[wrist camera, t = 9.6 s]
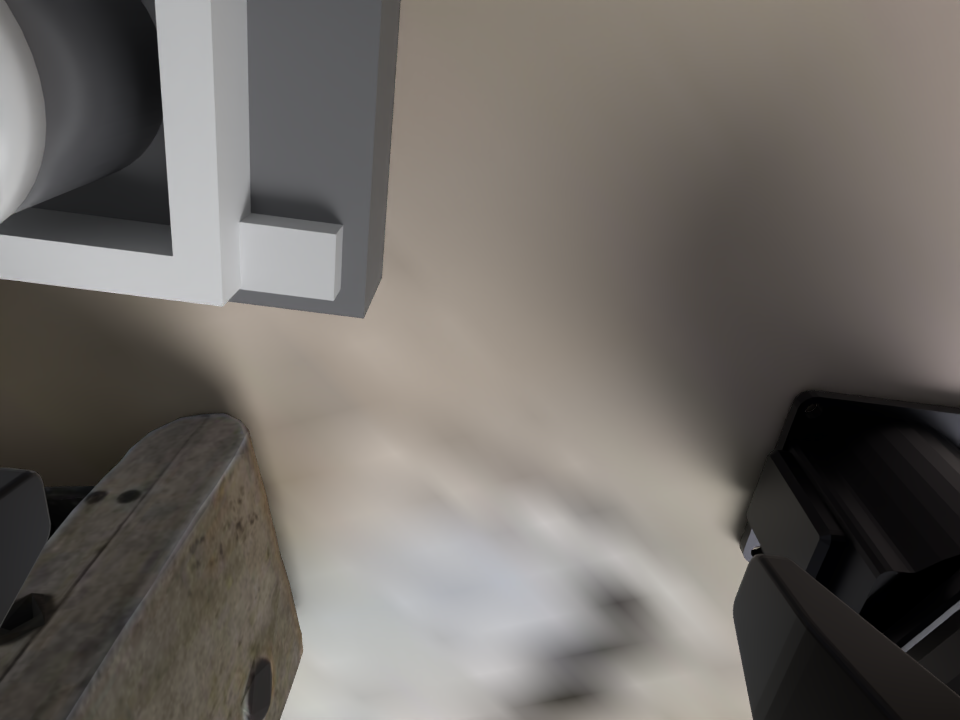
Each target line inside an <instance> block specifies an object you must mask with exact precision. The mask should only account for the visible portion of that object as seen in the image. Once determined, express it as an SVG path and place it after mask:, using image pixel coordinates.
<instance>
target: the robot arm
mask: <svg viewBox="0 0 960 720" xmlns="http://www.w3.org/2000/svg"><path fill="white" fill-rule="evenodd" d="M812 404H817V406H816V407H815V409H814V410H812V411H809V412H805V410H806V409H807V407H808V406H810V405H812ZM746 517H747V520H748V522H747V525H746V528H745V530H744V533H743V536H742V538H741V541H740V549H741V551H742V553H743V555H744V558H745V559H746V560H747V561H748V562H749V564H748V566H747V569H746V572H745V574H744V577H743V579H742V582H741V584H740V587H739V590H738V592H737V595H736V597H735V601H734V606H733V618H734V624H735V629H736V635H737V640H738V645H739V650H740V655H741V660H742V665H743V671H744V676H745V681H746V686H747V691H748V696H749V701H750V707H751V712H752V717H753V720H960V408H952V407H944V406H936V405H928V404H920V403H912V402H903V401H895V400H887V399H879V398H871V397H863V396H855V395H847V394H839V393H831V392H823V391H815V390H811V391H805V392H803V393H801V394H799V395H798V396H797V397H796V398H795V399H794V401H793V403H792V405H791V408H790V411H789V413H788V416H787V419H786V421H785V424H784V427H783V429H782V432H781V435H780V437H779V440H778V443H777V445H776V448H775V450H774V451H773V452H771V453H770V454H769V455H768V457H767V460H766V462H765V465H764V468H763V470H762V473H761V476H760V478H759V481H758V484H757V486H756V489H755V492H754V495H753V497H752V500H751V503H750V505H749V508H748V511H747V513H746ZM50 527H51V523H50V516H49V511H48V506H47V500H46V495H45V489H44V484H43V480H42V478H41V476H40V475H39V474H38V473H37V472H35V471H33V470H26V469H17V468H0V627H1V625H2V623H3V621H4V619H5V618H6V616H7V614H8V612H9V610H10V608H11V607H12V605H13V603H14V601H15V599H16V598H17V596H18V594H19V592H20V590H21V588H22V587H23V585H24V583H25V581H26V579H27V578H28V576H29V574H30V572H31V570H32V568H33V567H34V565H35V563H36V561H37V559H38V558H39V556H40V554H41V552H42V550H43V549H44V547H45V545H46V543H47V540H48V538H49V534H50ZM756 546H761V547H760V548H758V549H754V550H752V549H753V548H754V547H756Z"/></svg>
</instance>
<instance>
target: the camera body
mask: <svg viewBox="0 0 960 720" xmlns="http://www.w3.org/2000/svg"><path fill="white" fill-rule="evenodd" d="M141 1H142V3H143V4H144V6H145V8H146V9H147V11H148V13H149V15H150V17H151V19H152V21H153V23H154V25H155V27H156V30H157V39H158V53H159V67H160V81H161V95H162V109H163V120H162V123H161V125H160V128H159V130H158V132H157V134H156V136H155V138H154V139H153V141H152V143H151V144H150V146H149V147H148V148H147V149H146V150H145V152H144V153H143V154H142V155H141V156H140V157H139V158H138V159H136V160H135V161H134V162H133V163H131V164H130V165H128V166H127V167H125V168H123V169H121V170H120V171H118V172H115V173H113V174H110V175H108V176H105V177H103V178H100V179H98V180H95V181H93V182H91V183H88V184H86V185H83V186H81V187H78V188H76V189H73V190H71V191H68V192H66V193H64V194H61V195H59V196H56V197H54V198H51V199H49V200H46V201H44V202H41V203H39V204H36V205H34V206H32V207H29V208H27V209H24V210H22V211H19V212H17V213H14V214H12V215H10V216H9V217H8V218H7V219H5V220H4V221H3V222H2V223H1V224H0V279H6V280H14V281H22V282H30V283H38V284H46V285H54V286H62V287H70V288H78V289H86V290H94V291H102V292H110V293H118V294H126V295H134V296H142V297H150V298H158V299H166V300H174V301H182V302H190V303H198V304H206V305H214V306H222V307H223V306H224V305H225V304H226V303H227V302H228V301H229V302H237V303H245V304H253V305H261V306H269V307H277V308H285V309H293V310H301V311H309V312H317V313H325V314H333V315H341V316H349V317H357V318H364V317H365V314H366V312H367V310H368V308H369V305H370V303H371V301H372V299H373V296H374V294H375V292H376V290H377V287H378V285H379V283H380V281H381V278H382V266H383V251H384V237H385V222H386V207H387V192H388V178H389V163H390V148H391V133H392V119H393V104H394V89H395V74H396V60H397V45H398V30H399V15H400V1H401V0H141Z"/></svg>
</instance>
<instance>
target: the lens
mask: <svg viewBox="0 0 960 720" xmlns="http://www.w3.org/2000/svg"><path fill="white" fill-rule="evenodd" d="M162 120H163V109H162V95H161V81H160V67H159V53H158V39H157V30H156V27H155V25H154V23H153V21H152V19H151V17H150V15H149V13H148V11H147V9H146V8H145V6H144V4H143V3H142V1H141V0H0V224H1V223H2V222H3V221H4V220H5V219H7V218H8V217H9V216H10V215H12V214H14V213H17V212H19V211H22V210H24V209H27V208H29V207H32V206H34V205H36V204H39V203H41V202H44V201H46V200H49V199H51V198H54V197H56V196H59V195H61V194H64V193H66V192H68V191H71V190H73V189H76V188H78V187H81V186H83V185H86V184H88V183H91V182H93V181H95V180H98V179H100V178H103V177H105V176H108V175H110V174H113V173H115V172H118V171H120V170H121V169H123V168H125V167H127V166H128V165H130V164H131V163H133V162H134V161H135V160H136V159H138V158H139V157H140V156H141V155H142V154H143V153H144V152H145V150H146V149H147V148H148V147H149V146H150V144H151V143H152V141H153V139H154V138H155V136H156V134H157V132H158V130H159V128H160V125H161V123H162Z"/></svg>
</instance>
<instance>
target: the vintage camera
mask: <svg viewBox="0 0 960 720" xmlns="http://www.w3.org/2000/svg"><path fill="white" fill-rule="evenodd" d="M44 489H45V495H46V500H47V506H48V511H49V516H50V523H51V527H50V534H49V538H48V540H47V543H46V545H45V547H44V549H43V550H42V552H41V554H40V556H39V558H38V559H37V561H36V563H35V565H34V567H33V568H32V570H31V572H30V574H29V576H28V578H27V579H26V581H25V583H24V585H23V587H22V588H21V590H20V592H19V594H18V596H17V598H16V599H15V601H14V603H13V605H12V607H11V608H10V610H9V612H8V614H7V616H6V618H5V619H4V621H3V623H2V625H1V627H0V720H280V718H281V715H282V712H283V709H284V707H285V704H286V701H287V698H288V695H289V692H290V689H291V686H292V684H293V681H294V678H295V675H296V672H297V669H298V666H299V663H300V659H301V656H302V653H303V645H302V633H301V630H300V626H299V622H298V618H297V613H296V609H295V605H294V600H293V596H292V592H291V588H290V584H289V580H288V577H287V573H286V570H285V567H284V564H283V561H282V558H281V554H280V551H279V547H278V542H277V537H276V532H275V529H274V526H273V522H272V517H271V513H270V509H269V504H268V500H267V496H266V492H265V489H264V485H263V481H262V478H261V474H260V471H259V467H258V464H257V460H256V456H255V453H254V449H253V445H252V441H251V437H250V433H249V430H248V429H247V428H246V426H245V425H244V424H243V423H242V422H241V420H239V419H236V418H234V417H232V416H229V415H227V414H225V413H218V414H202V415H195V416H189V417H183V418H179V419H177V420H175V421H173V422H170V423H168V424H166V425H164V426H162V427H160V428H157V429H155V430H153V431H151V432H150V433H148V434H147V435H146V436H145V437H144V438H142V439H141V440H140V441H139V442H137V443H136V444H135V445H134V446H133V447H131V448H130V449H129V451H128V452H127V453H126V454H125V456H124V457H123V458H122V460H121V461H120V462H119V463H118V464H117V465H116V466H115V467H114V468H113V469H112V470H111V471H110V472H108V473H107V474H106V475H105V476H104V477H103V478H102V479H101V481H100V482H99V483H98V484H97V485H96V486H59V487H44Z"/></svg>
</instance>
